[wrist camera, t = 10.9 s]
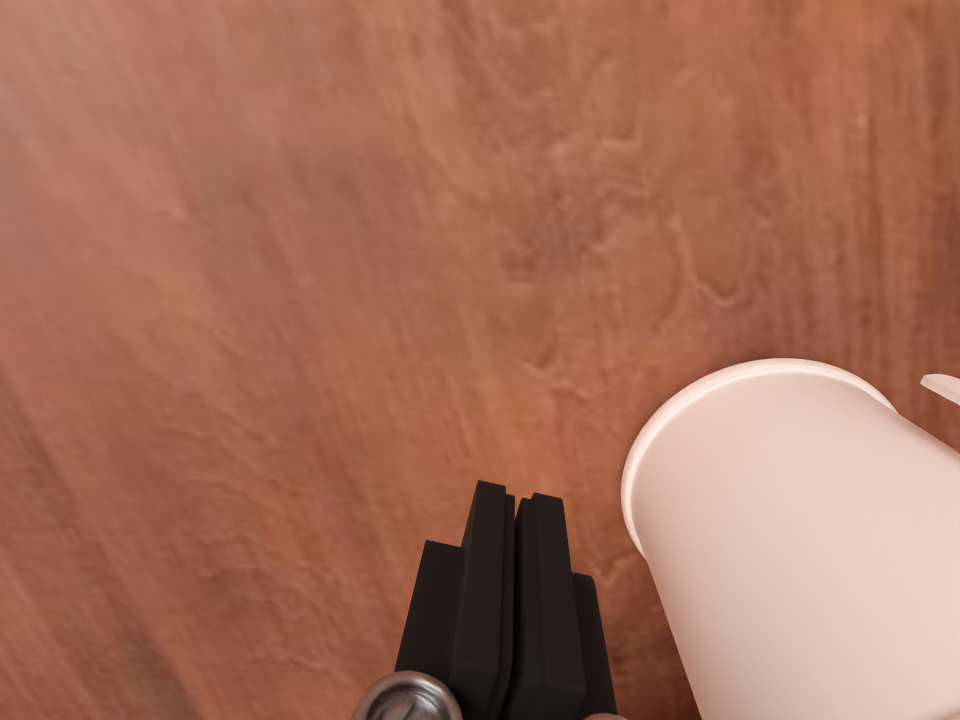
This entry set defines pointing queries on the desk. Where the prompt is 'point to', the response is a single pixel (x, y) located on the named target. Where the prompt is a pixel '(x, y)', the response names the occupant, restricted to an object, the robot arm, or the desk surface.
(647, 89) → the desk surface
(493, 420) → the desk surface
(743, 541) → the smoke grenade
